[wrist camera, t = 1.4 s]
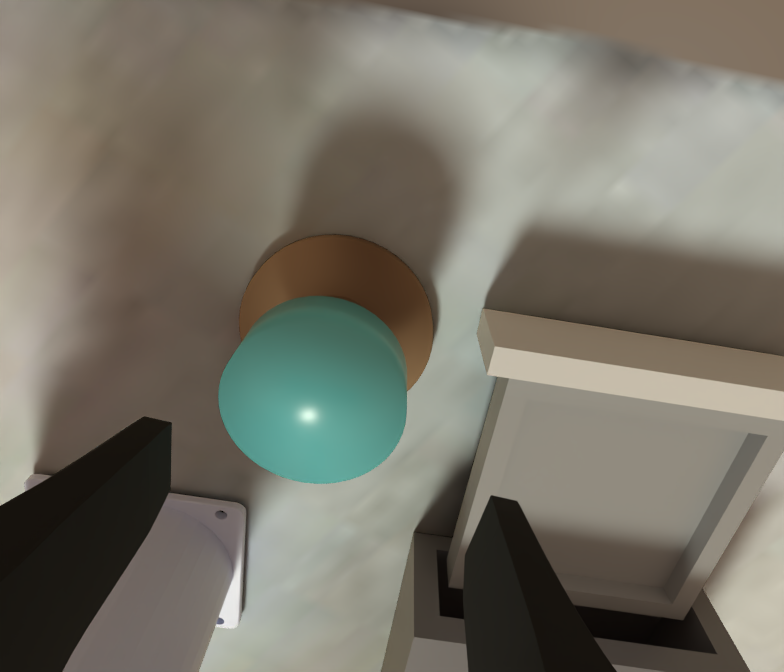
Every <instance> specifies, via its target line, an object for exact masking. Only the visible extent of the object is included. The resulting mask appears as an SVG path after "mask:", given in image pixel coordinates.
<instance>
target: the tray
mask: <svg viewBox="0 0 784 672" xmlns="http://www.w3.org/2000/svg"><path fill="white" fill-rule="evenodd" d="M477 337H478V341H479V345H480V349H481V353H482V357H483V361H484V365H485V369H486V372H487V375H491V376H497V381H496V385H495V388H494V392H493V395H492V399H491V402H490V406H489V410H488V413H487V417H486V420H485V424H484V427H483V431H482V435H481V438H480V442H479V445H478V449H477V452H476V456H475V460H474V463H473V467H472V470H471V474H470V478H469V481H468V485H467V488H466V492H465V495H464V499H463V503H462V506H461V510H460V513H459V517H458V520H457V524H456V528H455V531H454V535H453V538H452V542H451V545H450V549H449V553H448V556H447V573H448V587H451V588H458V589H463V584H464V561H465V553H466V551H467V549H468V546H469V544H470V542H471V540H472V537H473V535H474V533H475V530H476V528H477V526H478V523H479V521H480V519H481V517H482V514H483V512H484V510H485V507H486V505H487V503H488V500H489V498H490V496H491V495H493V496H498V497H502V498H507V499H511V500H515V501H518V503H519V505H520V506H521V508H522V510H523V512H524V514H525V516H526V518H527V520H528V522H529V524H530V526H531V528H532V530H533V532H534V534H535V536H536V538H537V540H538V542H539V543H540V545H541V547H542V549H543V551H544V553H545V555H546V557H547V559H548V561H549V562H550V564H551V566H552V568H553V570H554V572H555V573H556V575H557V577H558V579H559V580H560V582H561V584H562V586H563V587H564V589H565V591H566V593H567V595H568V596H569V598H570V600H571V601H572V603H573V605H578V606H586V607H593V608H600V609H607V610H614V611H621V612H628V613H635V614H642V615H649V616H657V617H664V618H671V619H678V620H684V618H685V616H686V615H687V613H688V611H689V610H690V608H691V606H692V605H693V603H694V601H695V600H696V598H697V596H698V594H699V593H700V591H701V589H702V588H703V586H704V584H705V583H706V581H707V579H708V578H709V576H710V574H711V573H712V571H713V569H714V567H715V566H716V564H717V562H718V561H719V559H720V557H721V556H722V554H723V552H724V551H725V549H726V547H727V546H728V544H729V542H730V540H731V539H732V537H733V535H734V534H735V532H736V530H737V529H738V527H739V525H740V524H741V522H742V520H743V519H744V517H745V515H746V513H747V512H748V510H749V508H750V507H751V505H752V503H753V502H754V500H755V498H756V497H757V495H758V493H759V492H760V490H761V488H762V486H763V485H764V483H765V481H766V480H767V478H768V476H769V475H770V473H771V471H772V470H773V468H774V466H775V465H776V463H777V461H778V459H779V458H780V456H781V454H782V453H783V451H784V356H779V355H773V354H766V353H760V352H754V351H748V350H741V349H735V348H729V347H722V346H716V345H710V344H704V343H697V342H691V341H685V340H678V339H672V338H666V337H660V336H653V335H647V334H641V333H635V332H628V331H622V330H616V329H609V328H603V327H597V326H591V325H584V324H578V323H572V322H565V321H559V320H553V319H547V318H540V317H534V316H528V315H521V314H515V313H509V312H503V311H496V310H490V309H484V308H483V310H482V314H481V318H480V322H479V326H478V330H477Z"/></svg>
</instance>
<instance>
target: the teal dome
mask: <svg viewBox="0 0 784 672" xmlns="http://www.w3.org/2000/svg"><path fill="white" fill-rule="evenodd" d="M218 399H219V409H220V413H221V417H222V420H223V423H224V425H225V428H226V430H227V431H228V433H229V435H230V437H231V438H232V440H233V441H234V442H235V444H236V445H237V446H238V447H239V448H240V450H241V451H242V452H243V453H244V454H245V455H247V456H248V457H249V458H250V459H251V460H252V461H254V462H255V463H257V464H258V465H259V466H261V467H263V468H264V469H266V470H268V471H270V472H272V473H274V474H276V475H279V476H281V477H284V478H287V479H291V480H294V481H299V482H304V483H315V484H327V483H336V482H342V481H346V480H350V479H353V478H356V477H359V476H361V475H363V474H365V473H367V472H369V471H371V470H372V469H374V468H375V467H377V466H378V465H380V464H381V463H382V462H383V461H384V460H385V459H386V458H387V457H388V456H389V455H390V454H391V453H392V452H393V450H394V449H395V447H396V446H397V444H398V442H399V440H400V438H401V436H402V434H403V430H404V427H405V422H406V412H407V366H406V360H405V356H404V353H403V350H402V348H401V346H400V344H399V342H398V340H397V338H396V337H395V335H394V334H393V332H392V331H391V330H390V329H389V328H388V326H387V325H386V324H385V323H384V322H383V321H382V320H381V319H379V318H378V317H377V316H376V315H375V314H373V313H372V312H370V311H368V310H367V309H365V308H363V307H361V306H359V305H357V304H355V303H353V302H350V301H347V300H344V299H340V298H335V297H328V296H306V297H299V298H295V299H292V300H288V301H285V302H283V303H281V304H279V305H276V306H275V307H273V308H272V309H270V310H268V311H267V312H266V313H265V314H263V315H262V316H261V317H260V318H259V319H258V320H257V321H256V322H255V323H254V325H253V326H252V327H251V329H250V330H249V332H248V333H247V335H246V336H245V338H244V339H243V341H242V342H241V344H240V345H239V347H238V348H237V350H236V351H235V353H234V354H233V356H232V357H231V359H230V360H229V362H228V363H227V365H226V367H225V369H224V371H223V374H222V377H221V380H220V384H219V393H218Z"/></svg>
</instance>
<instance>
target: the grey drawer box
mask: <svg viewBox="0 0 784 672" xmlns="http://www.w3.org/2000/svg"><path fill="white" fill-rule="evenodd" d="M451 542H452V538H450V537H443V536H436V535H429V534H422V533H415V532H414V534H413V538H412V542H411V546H410V551H409V555H408V559H407V563H406V568H405V572H404V576H403V580H402V585H401V589H400V593H399V598H398V602H397V606H396V610H395V615H394V619H393V623H392V627H391V632H390V636H389V640H388V644H387V649H386V653H385V657H384V661H383V666H382V670H381V672H468V661H467V648H466V635H465V622H464V608H463V589H458V588H451V587H448V573H447V556H448V553H449V549H450V545H451ZM574 607H575V608H576V610H577V612H578V613H579V615H580V617H581V618H582V620H583V621H584V623H585V625H586V626H587V628H588V629H589V631H590V632H591V634H592V636H593V637H594V639H595V640H596V642H597V643H598V645H599V646H600V648H601V650H602V651H603V653H604V654H605V656H606V657H607V658H608V660H609V661H610V663H611V664H612V666H613V667H614V668H615V670H616V671H617V672H750V670H749V668H748V667H747V665H746V663H745V661H744V660H743V658H742V656H741V655H740V653H739V651H738V649H737V648H736V646H735V644H734V642H733V641H732V639H731V637H730V635H729V634H728V632H727V630H726V628H725V627H724V625H723V623H722V622H721V620H720V618H719V616H718V615H717V613H716V611H715V609H714V608H713V606H712V604H711V602H710V601H709V599H708V597H707V596H706V594H705V592H704V590H703V589H701V591H700V593H699V594H698V596H697V598H696V600H695V601H694V603H693V605H692V606H691V608H690V610H689V611H688V613H687V615H686V616H685V618H684V620H678V619H671V618H664V617H657V616H649V615H642V614H635V613H628V612H621V611H614V610H607V609H600V608H593V607H586V606H578V605H574Z"/></svg>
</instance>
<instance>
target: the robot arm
mask: <svg viewBox="0 0 784 672" xmlns="http://www.w3.org/2000/svg"><path fill="white" fill-rule="evenodd" d="M171 432H172V423H171V422H166V421H162V420H158V419H153V418H149V417H142V418H141V419H139V420H137V421H136V422H134V423H133V424H131V425H130V426H128V427H127V428H125V429H124V430H122V431H121V432H119V433H118V434H116V435H115V436H113V437H112V438H110V439H109V440H107V441H106V442H104V443H103V444H101V445H100V446H98V447H97V448H95V449H93V450H92V451H90V452H89V453H87V454H86V455H84V456H83V457H81V458H80V459H78V460H76V461H75V462H73V463H72V464H70V465H68V466H67V467H65V468H64V469H62V470H60V471H59V472H57V473H56V474H54V475H53V476H50V475H43V474H33V475H31V476H30V477H29V478H28V479H27V480H26V481H25V483H24V487H25V492H24V493H22V494H20V495H18V496H17V497H15V498H13V499H11V500H10V501H8V502H6V503H5V504H3V505H1V506H0V672H199V669H200V667H201V664H202V661H203V658H204V656H205V653H206V650H207V648H208V645H209V642H210V639H211V637H212V634H213V631H214V628H215V627H222V628H236V627H237V626H238V625H239V623H240V620H241V614H242V593H243V572H244V551H245V530H246V509H245V508H244V506H243V505H241V504H240V503H236V502H230V501H223V500H216V499H209V498H202V497H195V496H188V495H181V494H175V493H169V491H170V484H171ZM219 510H221V511H224V512H225V513H223V512H220V511H219ZM463 608H464V622H465V635H466V648H467V661H468V672H617V671H616V670H615V668H614V667H613V666H612V664H611V663H610V661H609V660H608V658H607V657H606V656H605V654H604V653H603V651H602V650H601V648H600V646H599V645H598V643H597V642H596V640H595V639H594V637H593V636H592V634H591V632H590V631H589V629H588V628H587V626H586V625H585V623H584V621H583V620H582V618H581V617H580V615H579V613H578V612H577V610H576V608H575V607H574V605H573V603H572V601H571V600H570V598H569V596H568V595H567V593H566V591H565V589H564V587H563V586H562V584H561V582H560V580H559V579H558V577H557V575H556V573H555V572H554V570H553V568H552V566H551V564H550V562H549V561H548V559H547V557H546V555H545V553H544V551H543V549H542V547H541V545H540V543H539V542H538V540H537V538H536V536H535V534H534V532H533V530H532V528H531V526H530V524H529V522H528V520H527V518H526V516H525V514H524V512H523V510H522V508H521V506H520V505H519V503H518V501H515V500H511V499H507V498H502V497H498V496H493V495H491V496H490V498H489V500H488V503H487V505H486V507H485V510H484V512H483V514H482V517H481V519H480V521H479V523H478V526H477V528H476V530H475V533H474V535H473V537H472V540H471V542H470V544H469V546H468V549H467V551H466V553H465V561H464V584H463Z"/></svg>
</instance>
